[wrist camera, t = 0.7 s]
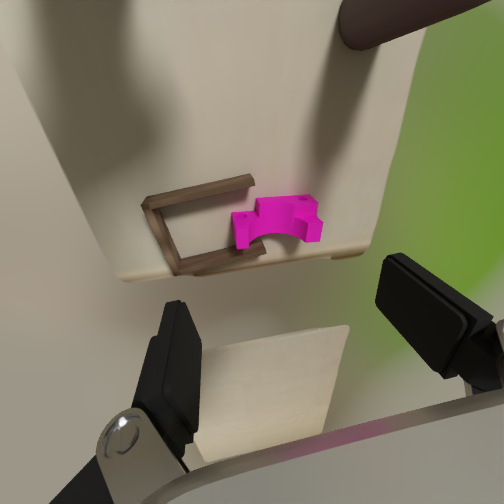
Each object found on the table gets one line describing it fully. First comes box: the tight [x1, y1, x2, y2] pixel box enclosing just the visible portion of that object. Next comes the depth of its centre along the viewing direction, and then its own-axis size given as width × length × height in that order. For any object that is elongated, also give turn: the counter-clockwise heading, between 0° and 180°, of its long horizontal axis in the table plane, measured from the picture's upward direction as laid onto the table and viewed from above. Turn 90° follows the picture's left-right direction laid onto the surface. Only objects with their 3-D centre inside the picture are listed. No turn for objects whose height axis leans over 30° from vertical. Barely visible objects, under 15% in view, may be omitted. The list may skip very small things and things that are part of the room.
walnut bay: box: [141, 174, 266, 276], centre depth 41 cm, size 15×18×4 cm
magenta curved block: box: [232, 195, 323, 249], centre depth 41 cm, size 15×6×8 cm, turn 91°
